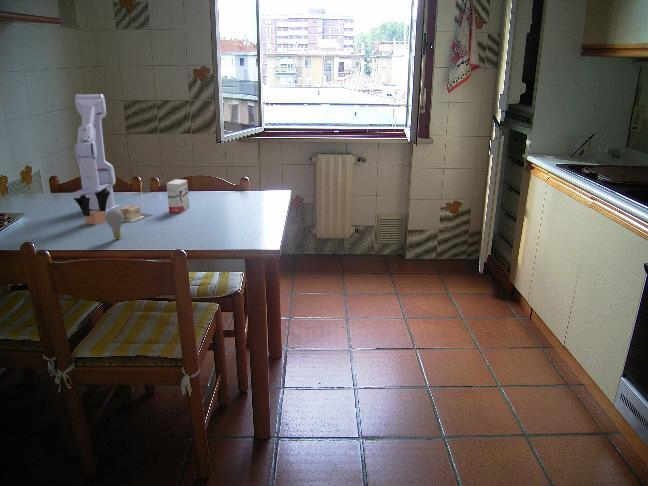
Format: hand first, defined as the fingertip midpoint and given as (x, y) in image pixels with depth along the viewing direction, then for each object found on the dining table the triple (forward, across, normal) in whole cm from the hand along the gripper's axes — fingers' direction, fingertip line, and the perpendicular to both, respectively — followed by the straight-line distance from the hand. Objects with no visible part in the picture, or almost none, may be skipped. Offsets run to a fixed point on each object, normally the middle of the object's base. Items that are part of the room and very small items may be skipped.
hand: (94, 213), depth 195 cm
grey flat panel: (+4, +10, -6) cm, 12 cm away
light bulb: (+4, -12, -21) cm, 24 cm away
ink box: (+4, +25, -18) cm, 31 cm away
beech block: (+3, +9, -8) cm, 12 cm away
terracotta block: (+4, 0, 0) cm, 4 cm away
